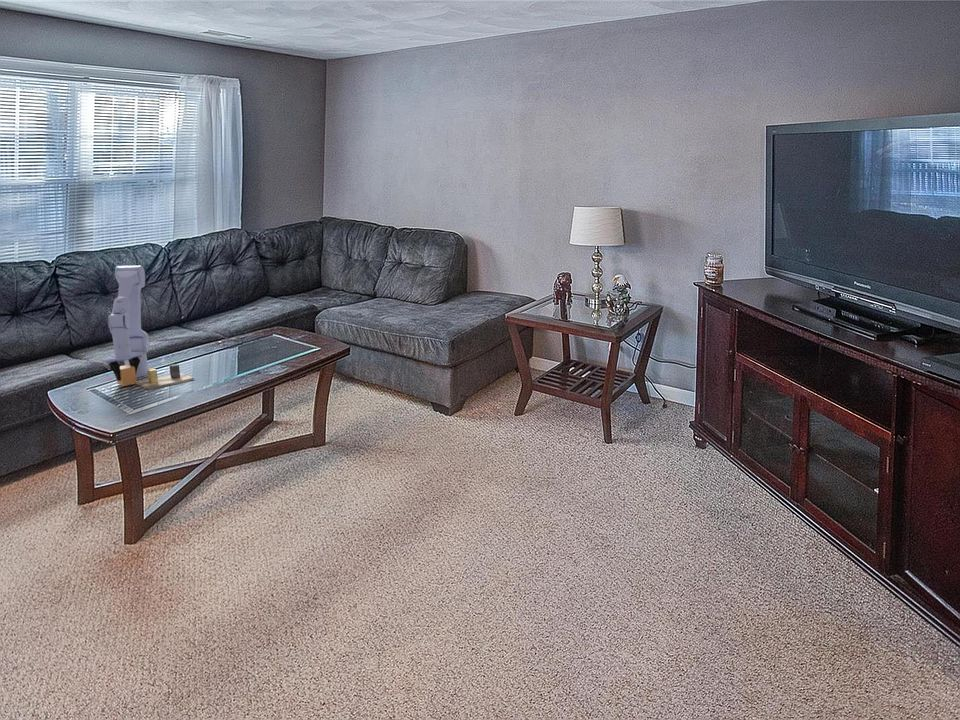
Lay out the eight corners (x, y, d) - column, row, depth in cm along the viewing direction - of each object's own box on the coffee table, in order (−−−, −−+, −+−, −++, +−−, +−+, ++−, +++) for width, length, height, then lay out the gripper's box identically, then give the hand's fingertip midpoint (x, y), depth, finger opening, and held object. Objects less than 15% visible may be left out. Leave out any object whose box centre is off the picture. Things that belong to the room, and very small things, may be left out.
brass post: (148, 382, 286) (146, 370, 285) (155, 380, 288) (153, 368, 287) (151, 383, 285) (150, 371, 283) (158, 382, 287) (156, 369, 285)
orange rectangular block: (117, 383, 285) (115, 367, 283) (130, 380, 288) (128, 364, 287) (123, 386, 281) (121, 369, 280) (136, 383, 285) (134, 366, 283)
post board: (135, 383, 287) (133, 369, 286) (179, 373, 300) (177, 360, 299) (149, 390, 280) (147, 375, 278) (194, 379, 293) (192, 365, 291)
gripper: (106, 349, 273) (111, 384, 277) (145, 342, 283) (149, 376, 287) (98, 346, 277) (103, 381, 281) (137, 339, 288) (141, 373, 292)
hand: (126, 378), depth 284 cm, fingers closed on orange rectangular block, 5 cm apart
